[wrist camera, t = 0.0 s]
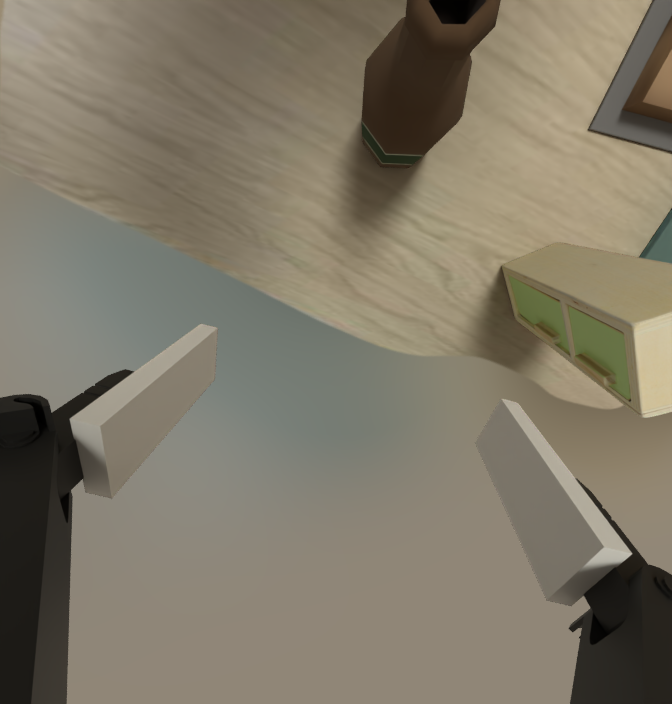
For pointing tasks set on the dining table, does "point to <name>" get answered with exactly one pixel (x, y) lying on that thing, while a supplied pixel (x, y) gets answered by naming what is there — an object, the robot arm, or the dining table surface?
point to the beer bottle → (421, 77)
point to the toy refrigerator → (601, 318)
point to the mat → (610, 112)
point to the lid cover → (655, 82)
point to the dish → (660, 243)
